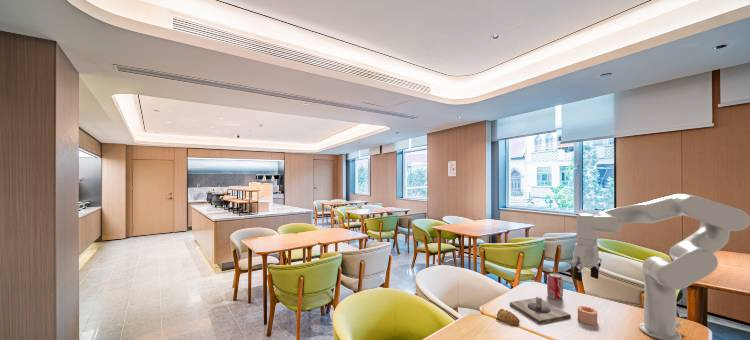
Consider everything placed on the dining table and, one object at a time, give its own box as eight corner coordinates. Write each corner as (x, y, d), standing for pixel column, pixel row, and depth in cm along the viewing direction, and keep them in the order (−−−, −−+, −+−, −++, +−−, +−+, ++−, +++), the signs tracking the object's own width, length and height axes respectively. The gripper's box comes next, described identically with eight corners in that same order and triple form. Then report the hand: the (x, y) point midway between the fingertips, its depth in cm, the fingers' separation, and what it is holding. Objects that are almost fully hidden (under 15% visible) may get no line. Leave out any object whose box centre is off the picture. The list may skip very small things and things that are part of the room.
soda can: (562, 296, 154) (562, 274, 154) (563, 301, 148) (563, 278, 148) (547, 293, 158) (547, 271, 157) (547, 298, 152) (547, 275, 151)
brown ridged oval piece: (522, 323, 129) (522, 314, 129) (514, 328, 125) (514, 319, 125) (503, 314, 136) (503, 306, 136) (495, 318, 133) (495, 310, 132)
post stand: (538, 300, 150) (538, 287, 150) (570, 317, 132) (570, 303, 132) (509, 305, 145) (509, 292, 145) (539, 323, 127) (539, 309, 127)
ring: (585, 315, 134) (585, 304, 134) (601, 323, 128) (601, 312, 127) (574, 317, 132) (574, 307, 132) (589, 326, 126) (589, 314, 126)
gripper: (592, 237, 135) (592, 273, 136) (564, 240, 131) (563, 277, 131) (609, 241, 128) (609, 280, 128) (579, 245, 123) (579, 284, 124)
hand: (586, 278), depth 130 cm, fingers open, 9 cm apart
